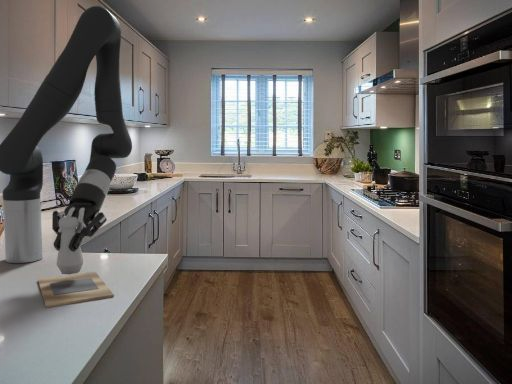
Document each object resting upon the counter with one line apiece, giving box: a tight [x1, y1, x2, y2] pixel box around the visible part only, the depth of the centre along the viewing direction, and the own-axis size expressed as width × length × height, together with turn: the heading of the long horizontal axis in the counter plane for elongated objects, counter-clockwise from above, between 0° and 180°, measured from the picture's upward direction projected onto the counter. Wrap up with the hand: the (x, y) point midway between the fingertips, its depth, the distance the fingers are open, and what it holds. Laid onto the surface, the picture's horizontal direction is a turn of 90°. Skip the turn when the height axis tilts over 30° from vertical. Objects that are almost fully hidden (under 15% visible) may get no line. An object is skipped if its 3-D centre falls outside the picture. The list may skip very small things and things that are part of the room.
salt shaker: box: [56, 216, 84, 275], centre depth 102 cm, size 6×6×13 cm
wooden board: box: [37, 271, 115, 308], centre depth 98 cm, size 20×13×1 cm, turn 31°
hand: (64, 249), depth 100 cm, fingers closed on salt shaker, 3 cm apart
